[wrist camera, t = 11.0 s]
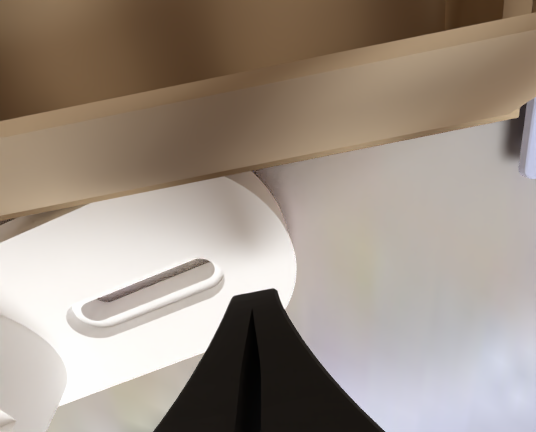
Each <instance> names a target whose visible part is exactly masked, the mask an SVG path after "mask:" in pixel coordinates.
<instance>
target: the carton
mask: <svg viewBox="0 0 536 432" xmlns="http://www.w3.org/2000/svg"><path fill="white" fill-rule="evenodd" d="M535 12H536V0H0V121H4V120H9V119H14V118H19V117H24V116H29V115H34V114H38V113H43V112H48V111H53V110H58V109H63V108H68V107H73V106H78V105H83V104H88V103H93V102H97V101H102V100H107V99H112V98H117V97H122V96H127V95H132V94H137V93H142V92H147V91H152V90H156V89H161V88H166V87H171V86H176V85H181V84H186V83H191V82H196V81H201V80H206V79H211V78H215V77H220V76H225V75H230V74H235V73H240V72H245V71H250V70H255V69H260V68H265V67H270V66H274V65H279V64H284V63H289V62H294V61H299V60H304V59H309V58H314V57H319V56H324V55H329V54H333V53H338V52H343V51H348V50H353V49H358V48H363V47H368V46H373V45H378V44H383V43H388V42H392V41H397V40H402V39H407V38H412V37H417V36H422V35H427V34H432V33H437V32H442V31H447V30H451V29H456V28H461V27H466V26H471V25H476V24H481V23H486V22H491V21H496V20H501V19H506V18H510V17H515V16H520V15H525V14H530V13H535ZM519 111H520V107H519V108H518V109H516V110H515V111H513V112H512V113H510V114H507V115H502V116H497V117H492V118H487V119H482V120H477V121H472V122H467V123H462V124H457V125H452V126H447V127H442V128H437V129H432V130H427V131H422V132H417V133H412V134H407V135H402V136H397V137H392V138H387V139H382V140H377V141H372V142H367V143H362V144H357V145H352V146H347V147H342V148H337V149H332V150H327V151H322V152H317V153H312V154H307V155H302V156H297V157H292V158H287V159H282V160H277V161H272V162H267V163H262V164H257V165H252V166H247V167H242V168H237V169H232V170H227V171H222V172H217V173H212V174H207V175H202V176H197V177H192V178H187V179H182V180H177V181H172V182H167V183H162V184H157V185H152V186H147V187H142V188H137V189H132V190H127V191H122V192H117V193H112V194H107V195H102V196H97V197H92V198H87V199H82V200H77V201H72V202H67V203H62V204H57V205H52V206H47V207H42V208H37V209H32V210H27V211H22V212H17V213H12V214H7V215H2V216H0V221H3V220H8V219H13V218H18V217H23V216H28V215H33V214H38V213H43V212H48V211H53V210H58V209H63V208H68V207H73V206H78V205H83V204H88V203H93V202H98V201H103V200H108V199H113V198H118V197H123V196H128V195H133V194H138V193H143V192H148V191H153V190H158V189H163V188H168V187H173V186H178V185H183V184H188V183H193V182H198V181H203V180H208V179H213V178H218V177H223V176H228V175H233V174H238V173H243V172H248V171H253V170H258V169H263V168H268V167H273V166H278V165H283V164H288V163H293V162H298V161H303V160H308V159H313V158H318V157H323V156H328V155H333V154H338V153H343V152H348V151H353V150H358V149H363V148H368V147H373V146H378V145H383V144H388V143H393V142H398V141H403V140H408V139H413V138H418V137H423V136H428V135H433V134H438V133H443V132H448V131H453V130H458V129H463V128H468V127H473V126H478V125H483V124H488V123H493V122H498V121H503V120H508V119H513V118H518V117H519Z"/></svg>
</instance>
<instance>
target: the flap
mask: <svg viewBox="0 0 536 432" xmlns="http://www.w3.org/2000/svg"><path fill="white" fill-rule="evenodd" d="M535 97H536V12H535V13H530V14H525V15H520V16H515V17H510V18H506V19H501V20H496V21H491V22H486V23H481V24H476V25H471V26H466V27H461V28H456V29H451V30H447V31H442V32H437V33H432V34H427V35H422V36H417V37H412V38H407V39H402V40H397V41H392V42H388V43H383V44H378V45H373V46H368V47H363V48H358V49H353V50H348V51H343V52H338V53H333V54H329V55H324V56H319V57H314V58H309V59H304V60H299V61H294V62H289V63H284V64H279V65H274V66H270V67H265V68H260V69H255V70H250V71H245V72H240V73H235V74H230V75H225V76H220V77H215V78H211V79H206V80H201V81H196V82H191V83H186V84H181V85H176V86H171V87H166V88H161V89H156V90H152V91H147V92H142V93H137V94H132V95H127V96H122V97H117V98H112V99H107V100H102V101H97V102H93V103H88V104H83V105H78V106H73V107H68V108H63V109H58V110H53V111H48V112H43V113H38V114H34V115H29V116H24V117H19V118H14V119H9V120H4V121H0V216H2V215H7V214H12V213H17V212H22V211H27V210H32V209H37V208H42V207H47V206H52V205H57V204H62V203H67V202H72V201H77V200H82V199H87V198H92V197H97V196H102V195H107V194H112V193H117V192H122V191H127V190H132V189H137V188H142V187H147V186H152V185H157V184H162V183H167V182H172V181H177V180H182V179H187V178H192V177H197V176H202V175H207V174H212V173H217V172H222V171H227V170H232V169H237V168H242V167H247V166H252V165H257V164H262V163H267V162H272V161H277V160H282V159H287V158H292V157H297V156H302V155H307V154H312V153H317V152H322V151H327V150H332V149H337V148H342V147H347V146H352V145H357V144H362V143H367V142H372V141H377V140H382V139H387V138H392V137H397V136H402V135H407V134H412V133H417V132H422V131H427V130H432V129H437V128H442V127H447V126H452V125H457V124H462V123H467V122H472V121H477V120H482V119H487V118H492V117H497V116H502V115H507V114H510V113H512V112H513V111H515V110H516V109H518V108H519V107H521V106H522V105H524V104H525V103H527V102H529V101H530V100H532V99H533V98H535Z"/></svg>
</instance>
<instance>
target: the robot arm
mask: <svg viewBox="0 0 536 432" xmlns="http://www.w3.org/2000/svg"><path fill="white" fill-rule="evenodd" d="M519 173H520V174H521V175H522V176H524V177H527V178H530V179H536V97H535V98H533V99H532V100H530V101H529V102H527V106H526V114H525V122H524V129H523V137H522V145H521V152H520V160H519ZM153 432H385V431H384V430H383V429H382V428H381V427H380V426H379V425H378V424H377V423H376V422H374V421H373V420H372V419H371V418H370V417H369V416H368V415H367V414H366V413H365V412H364V411H363V410H362V409H361V408H360V407H359V406H358V405H357V404H356V403H355V402H354V401H353V400H352V399H351V398H350V396H349V395H348V394H347V393H346V392H345V391H344V390H343V389H342V388H341V387H340V386H339V384H338V383H337V382H336V381H335V380H334V379H333V378H332V376H331V375H330V374H329V373H328V372H327V371H326V369H325V368H324V367H323V366H322V364H321V363H320V362H319V361H318V359H317V358H316V357H315V355H314V354H313V353H312V351H311V350H310V349H309V347H308V346H307V345H306V343H305V342H304V340H303V339H302V338H301V336H300V334H299V333H298V331H297V330H296V328H295V327H294V325H293V324H292V322H291V320H290V319H289V317H288V315H287V313H286V311H285V309H284V307H283V305H282V303H281V301H280V298H279V295H278V291H277V290H276V289H274V288H271V289H266V290H261V291H256V292H251V293H245V294H240V295H235V296H233V297H232V299H231V300H230V303H229V305H228V307H227V310H226V312H225V314H224V316H223V318H222V321H221V323H220V325H219V327H218V329H217V331H216V333H215V335H214V337H213V339H212V340H211V342H210V344H209V346H208V348H207V350H206V352H205V354H204V355H203V357H202V359H201V361H200V362H199V364H198V366H197V367H196V369H195V371H194V372H193V374H192V376H191V377H190V379H189V381H188V382H187V384H186V385H185V387H184V389H183V390H182V392H181V393H180V395H179V396H178V398H177V399H176V401H175V402H174V404H173V405H172V406H171V408H170V409H169V411H168V412H167V414H166V415H165V416H164V418H163V419H162V421H161V422H160V423H159V425H158V426H157V427H156V429H155V430H154V431H153Z"/></svg>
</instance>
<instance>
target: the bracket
mask: <svg viewBox="0 0 536 432" xmlns="http://www.w3.org/2000/svg"><path fill="white" fill-rule="evenodd" d="M197 258H202V259H206V260H209V261H210V262H208V263H205V264H203V265H200V266H198V267H196V268H193V269H191V270H188V271H186V272H183V273H181V274H178V275H176V276H173V277H171V278H168V279H166V280H163V281H161V282H158V283H156V284H154V285H151V286H149V287H146V288H144V289H141V290H139V291H136V292H134V293H131V294H129V295H126V296H124V297H121V298H119V299H116V300H114V301H111V302H103V301H100V300H98V299H97V298H100V297H102V296H105V295H107V294H110V293H112V292H115V291H117V290H120V289H122V288H124V287H127V286H129V285H132V284H134V283H137V282H139V281H142V280H144V279H147V278H149V277H152V276H154V275H157V274H159V273H162V272H164V271H167V270H169V269H171V268H174V267H176V266H179V265H181V264H184V263H186V262H189V261H191V260H194V259H197ZM295 281H296V257H295V253H294V248H293V245H292V242H291V238H290V235H289V232H288V229H287V226H286V223H285V220H284V217H283V215H282V212H281V210H280V208H279V206H278V204H277V202H276V200H275V199H274V197H273V196H272V194H271V192H270V191H269V190H268V188H267V187H266V186H265V185H264V184H263V182H262V181H261V180H260V179H259V178H258V177H257V176H256V175H255V174H254V173H253V172H252V171H248V172H243V173H238V174H233V175H228V176H223V177H218V178H213V179H208V180H203V181H198V182H193V183H188V184H183V185H178V186H173V187H168V188H163V189H158V190H153V191H148V192H143V193H138V194H133V195H128V196H123V197H118V198H113V199H108V200H103V201H98V202H93V203H88V204H83V205H78V206H73V207H68V208H63V209H58V210H53V211H48V212H43V213H38V214H33V215H28V216H23V217H18V218H16V219H13V220H11V221H9V222H7V223H4V224H2V225H0V432H47V429H48V427H49V425H50V423H51V420H52V418H53V416H54V414H55V411H56V409H57V407H58V406H61V405H64V404H66V403H69V402H72V401H75V400H77V399H80V398H83V397H85V396H88V395H91V394H93V393H96V392H99V391H101V390H104V389H107V388H110V387H112V386H115V385H118V384H120V383H123V382H126V381H128V380H131V379H134V378H136V377H139V376H142V375H145V374H147V373H150V372H153V371H155V370H158V369H161V368H163V367H166V366H169V365H171V364H174V363H177V362H180V361H182V360H185V359H188V358H190V357H193V356H196V355H198V354H201V353H204V352H206V350H207V348H208V346H209V344H210V342H211V340H212V339H213V337H214V335H215V333H216V331H217V329H218V327H219V325H220V323H221V321H222V318H223V316H224V314H225V312H226V310H227V307H228V305H229V303H230V300H231V299H232V297H233V296H235V295H240V294H245V293H251V292H256V291H261V290H266V289H271V288H274V289H276V290H277V291H278V295H279V298H280V301H281V303H282V305H283V307H284V309H286V307H287V305H288V303H289V301H290V299H291V296H292V293H293V290H294V287H295Z"/></svg>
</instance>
